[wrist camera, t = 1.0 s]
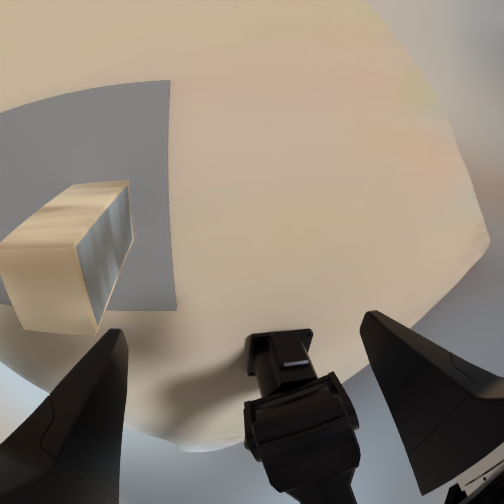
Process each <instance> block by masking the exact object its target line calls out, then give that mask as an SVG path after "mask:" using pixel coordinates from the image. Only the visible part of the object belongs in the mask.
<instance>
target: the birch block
mask: <svg viewBox="0 0 504 504" xmlns="http://www.w3.org/2000/svg"><path fill="white" fill-rule="evenodd" d="M133 241H134V236H133V227H132V217H131V207H130V194H129V180H126V181H111V182H99V183H87V184H77V185H72V186H70V187H69V188H67V189H66V190H65V191H63V192H62V193H60V194H59V195H58V196H56V197H55V198H53V199H52V200H51V201H49V202H48V203H47V204H45V205H44V206H43V207H42V208H40V209H39V210H38V211H36V212H35V213H34V214H33V215H31V216H30V217H29V218H28V219H27V220H25V221H24V222H23V223H22V224H21V225H19V226H18V227H17V228H16V229H15V230H14V231H12V232H11V233H10V234H9V235H8V236H7V237H6V238H5V239H3V240H2V241H1V242H0V275H1V278H2V281H3V283H4V286H5V288H6V291H7V293H8V296H9V298H10V301H11V303H12V305H13V308H14V310H15V312H16V314H17V316H18V319H19V321H20V323H21V325H22V327H23V329H24V330H30V331H38V332H47V333H57V334H69V335H82V336H97V334H98V331H99V328H100V325H101V322H102V319H103V316H104V313H105V311H106V308H107V305H108V302H109V300H110V297H111V294H112V292H113V289H114V286H115V284H116V281H117V279H118V276H119V274H120V271H121V269H122V266H123V264H124V261H125V259H126V257H127V254H128V252H129V250H130V248H131V245H132V243H133Z"/></svg>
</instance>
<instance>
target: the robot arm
mask: <svg viewBox="0 0 504 504" xmlns="http://www.w3.org/2000/svg"><path fill="white" fill-rule="evenodd" d="M360 335H361V338H362V341H363V344H364V347H365V350H366V353H367V356H368V359H369V362H370V365H371V367H372V370H373V372H374V375H375V377H376V379H377V381H378V384H379V386H380V388H381V390H382V393H383V395H384V397H385V400H386V402H387V404H388V407H389V409H390V412H391V414H392V417H393V419H394V422H395V424H396V427H397V429H398V432H399V434H400V437H401V439H402V442H403V444H404V447H405V450H406V452H407V456H408V458H409V461H410V464H411V466H412V469H413V472H414V475H415V478H416V480H417V484H418V487H419V490H420V492H421V495H422V496H423V495H425V494H427V493H429V492H431V491H433V490H435V489H436V488H438V487H440V486H441V485H443V484H445V483H447V482H448V481H450V480H452V479H454V478H456V480H457V483H455V484H454V485H453V486H451V487H450V488H449V491H448V494H447V497H446V500H445V503H444V504H504V377H499V376H497V375H495V374H492V373H490V372H488V371H486V370H484V369H482V368H480V367H478V366H476V365H474V364H472V363H469V362H467V361H465V360H464V359H462V358H460V357H458V356H456V355H454V354H453V353H451V352H448V350H446V349H444V348H442V347H441V346H439V345H437V344H435V343H434V342H432V341H430V340H428V339H427V338H425V337H423V336H421V335H420V334H418V333H416V332H414V331H412V330H411V329H409V328H407V327H406V326H404V325H402V324H400V323H398V322H397V321H395V320H393V319H391V318H390V317H388V316H386V315H384V314H382V313H381V312H379V311H377V310H373V311H368V312H366V313H365V315H364V318H363V321H362V324H361V326H360ZM312 337H313V332H312V330H311V329H304V330H295V331H285V332H275V333H263V334H254V335H252V336H251V337H250V344H249V355H248V366H247V374H248V376H257V380H258V385H259V389H260V393H261V397H262V398H260V399H257V400H253V401H246V402H244V407H245V409H244V425H245V441H244V445H245V448H246V449H247V450H249V451H251V453H252V454H253V456H254V458H255V459H256V461H257V462H263V465H264V468H265V471H266V473H267V476H268V479H269V482H270V484H271V485H272V486H273V487H274V488H275V489H276V490H277V491H278V492H280V493H282V492H286V493H287V494H289V495H290V496H292V497H293V498H295V499H296V500H298V501H299V502H300V504H357V502H356V499H355V496H354V493H353V491H352V488H351V482H352V478H353V475H354V472H355V468H357V467H358V466H359V461H360V456H361V454H360V448H359V444H358V442H357V438H356V436H355V433H354V431H355V430H357V429H359V422H358V418H357V415H356V412H355V409H354V407H353V405H352V403H351V401H350V398H349V397H348V395H347V393H346V392H345V390H344V388H343V387H342V385H341V383H340V381H339V380H338V378H337V376H336V375H335V373H334V371H333V372H330V373H328V375H325V376H323V377H320V378H318V377H317V374H316V372H315V369H314V367H313V365H312V362H311V360H310V358H309V355H308V350H309V347H310V344H311V340H312ZM127 375H128V345H127V342H126V339H125V336H124V333H123V331H122V330H121V329H109V330H108V331H107V332H106V333H105V334H104V335H103V336H102V337H101V338H100V340H99V341H98V342H97V343H96V344H95V345H94V346H93V347H92V348H91V349H90V350H89V351H88V352H87V353H86V354H85V355H84V357H83V358H82V359H81V360H80V361H79V362H78V363H77V364H76V365H75V366H74V367H73V368H72V370H71V371H70V372H69V373H68V374H67V375H66V376H65V377H64V378H63V380H62V381H61V382H60V383H59V384H58V385H57V386H56V387H55V389H54V390H53V391H52V392H51V393H50V396H48V397H47V398H46V399H45V400H44V401H43V402H42V403H41V404H40V405H39V407H38V408H37V409H36V410H35V411H34V412H33V413H32V414H31V415H30V416H29V417H28V418H27V419H26V420H25V421H24V422H23V423H22V424H21V425H20V426H19V427H18V428H17V429H16V430H15V431H14V432H13V433H12V434H11V435H10V436H9V437H8V438H7V439H5V441H3V442H2V443H1V444H0V504H119V475H120V456H121V442H122V431H123V422H124V413H125V405H126V397H127Z"/></svg>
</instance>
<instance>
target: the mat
mask: <svg viewBox="0 0 504 504" xmlns="http://www.w3.org/2000/svg"><path fill="white" fill-rule="evenodd" d="M169 97H170V80H163V81H148V82H137V83H127V84H119V85H112V86H105V87H98V88H92V89H87V90H82V91H77V92H72V93H67V94H63V95H59V96H55V97H51V98H47V99H43V100H39V101H36V102H32V103H29V104H26V105H23V106H20V107H17V108H14V109H11V110H8V111H5V112H2V113H0V242H1V241H2V240H3V239H5V238H6V237H7V236H8V235H9V234H10V233H11V232H12V231H14V230H15V229H16V228H17V227H18V226H19V225H21V224H22V223H23V222H24V221H25V220H27V219H28V218H29V217H30V216H31V215H33V214H34V213H35V212H36V211H38V210H39V209H40V208H42V207H43V206H44V205H45V204H47V203H48V202H49V201H51V200H52V199H53V198H55V197H56V196H58V195H59V194H60V193H62V192H63V191H65V190H66V189H67V188H69V187H70V186H72V185H77V184H87V183H99V182H111V181H126V180H129V194H130V207H131V217H132V227H133V236H134V241H133V243H132V245H131V248H130V250H129V252H128V254H127V257H126V259H125V261H124V264H123V266H122V269H121V271H120V274H119V276H118V279H117V281H116V284H115V286H114V289H113V292H112V294H111V297H110V300H109V302H108V305H107V308H106V310H118V311H173V310H176V308H177V305H176V296H175V286H174V276H173V264H172V251H171V236H170V218H169V191H168V123H169ZM0 303H1V304H6V305H12V303H11V301H10V298H9V296H8V293H7V291H6V288H5V286H4V283H3V281H2V278H1V275H0Z"/></svg>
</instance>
